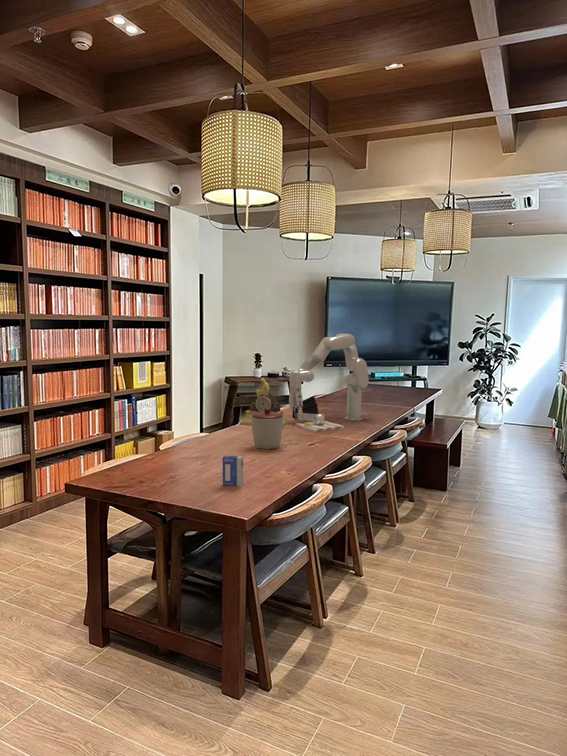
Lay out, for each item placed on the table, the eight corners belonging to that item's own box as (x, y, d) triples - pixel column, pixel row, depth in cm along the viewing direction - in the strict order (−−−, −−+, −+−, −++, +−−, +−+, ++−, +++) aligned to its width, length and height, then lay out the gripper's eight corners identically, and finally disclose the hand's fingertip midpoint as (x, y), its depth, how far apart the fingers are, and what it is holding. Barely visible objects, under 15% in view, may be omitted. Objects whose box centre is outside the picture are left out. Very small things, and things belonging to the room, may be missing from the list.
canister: (262, 441, 286) (262, 403, 284) (290, 446, 277) (291, 406, 275) (243, 448, 270) (243, 408, 268) (272, 453, 261) (272, 411, 259)
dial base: (323, 422, 343) (323, 417, 342) (344, 428, 324) (344, 423, 324) (295, 425, 331) (295, 420, 331) (315, 432, 313) (315, 426, 312)
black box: (322, 416, 357) (313, 396, 358) (305, 423, 361) (296, 403, 362) (323, 415, 361) (314, 395, 361) (306, 422, 365) (297, 402, 365)
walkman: (222, 485, 208) (222, 456, 207) (224, 483, 211) (224, 454, 210) (241, 486, 207) (241, 457, 206) (243, 484, 210) (243, 455, 209)
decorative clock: (239, 425, 333) (239, 378, 330) (246, 421, 345) (246, 376, 342) (281, 428, 325) (282, 380, 322) (287, 424, 337) (287, 378, 334)
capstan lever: (325, 423, 329) (325, 414, 329) (322, 425, 324) (322, 415, 323) (295, 421, 335) (295, 412, 335) (293, 423, 330) (293, 413, 329)
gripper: (306, 390, 330) (306, 419, 332) (294, 388, 343) (293, 415, 345) (296, 391, 326) (296, 420, 328) (284, 388, 339) (284, 416, 341)
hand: (295, 417), depth 336 cm, fingers closed
